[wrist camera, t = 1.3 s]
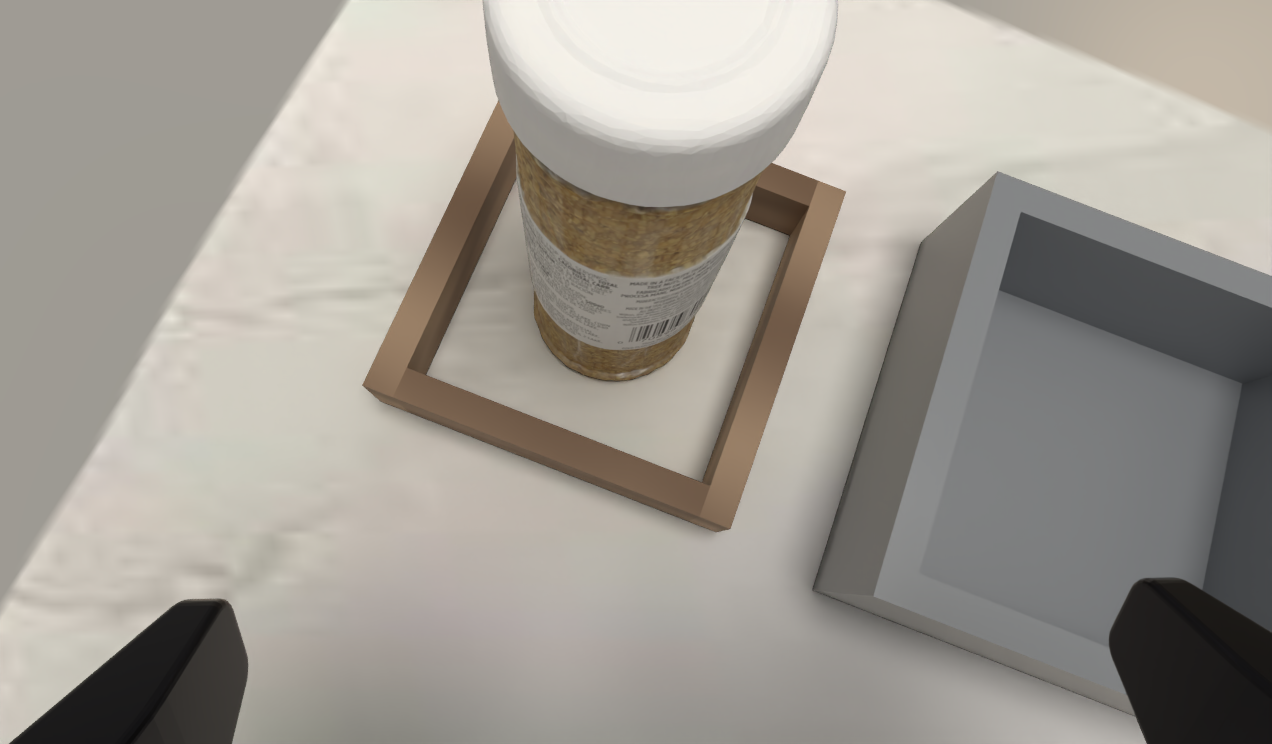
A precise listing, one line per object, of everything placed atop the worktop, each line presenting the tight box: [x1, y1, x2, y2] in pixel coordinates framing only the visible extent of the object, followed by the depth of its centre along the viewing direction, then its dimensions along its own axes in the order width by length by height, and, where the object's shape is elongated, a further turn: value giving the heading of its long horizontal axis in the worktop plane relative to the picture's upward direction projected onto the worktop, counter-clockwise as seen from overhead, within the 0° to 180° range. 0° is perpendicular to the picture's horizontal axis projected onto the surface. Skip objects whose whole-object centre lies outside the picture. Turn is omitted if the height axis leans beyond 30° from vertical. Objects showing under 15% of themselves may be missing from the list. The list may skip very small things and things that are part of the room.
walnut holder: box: [362, 100, 846, 532], centre depth 22 cm, size 10×10×2 cm
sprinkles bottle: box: [483, 0, 838, 381], centre depth 17 cm, size 5×5×13 cm
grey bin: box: [813, 172, 1272, 716], centre depth 21 cm, size 11×11×4 cm
